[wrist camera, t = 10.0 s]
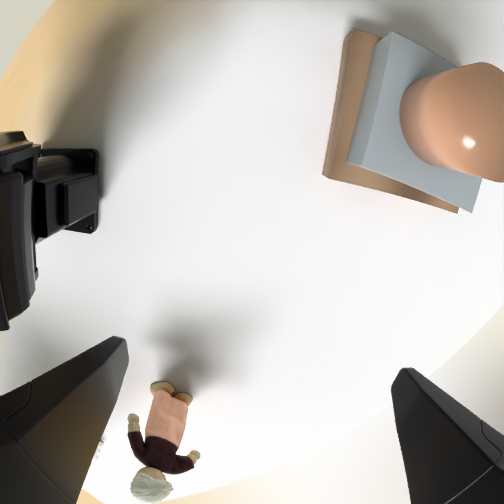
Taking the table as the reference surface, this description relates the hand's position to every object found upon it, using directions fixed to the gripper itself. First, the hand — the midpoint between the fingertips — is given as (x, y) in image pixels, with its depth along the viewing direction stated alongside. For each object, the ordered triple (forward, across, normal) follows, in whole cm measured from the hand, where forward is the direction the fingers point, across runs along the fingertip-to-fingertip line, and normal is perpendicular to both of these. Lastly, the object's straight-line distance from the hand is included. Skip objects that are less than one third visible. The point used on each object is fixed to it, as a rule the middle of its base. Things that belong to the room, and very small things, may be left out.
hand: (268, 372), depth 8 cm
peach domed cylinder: (+8, -8, -10) cm, 15 cm away
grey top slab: (+10, -8, -10) cm, 17 cm away
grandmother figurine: (+13, +6, +18) cm, 23 cm away
